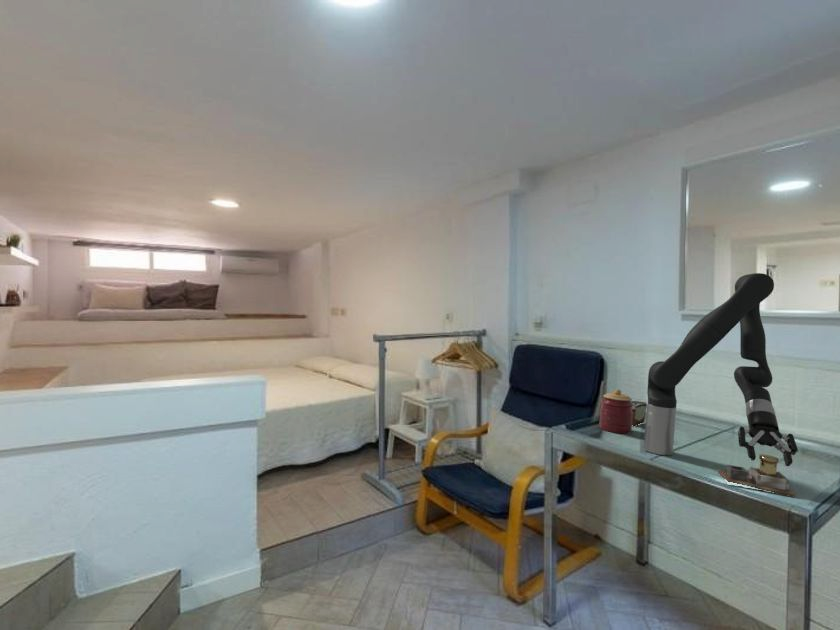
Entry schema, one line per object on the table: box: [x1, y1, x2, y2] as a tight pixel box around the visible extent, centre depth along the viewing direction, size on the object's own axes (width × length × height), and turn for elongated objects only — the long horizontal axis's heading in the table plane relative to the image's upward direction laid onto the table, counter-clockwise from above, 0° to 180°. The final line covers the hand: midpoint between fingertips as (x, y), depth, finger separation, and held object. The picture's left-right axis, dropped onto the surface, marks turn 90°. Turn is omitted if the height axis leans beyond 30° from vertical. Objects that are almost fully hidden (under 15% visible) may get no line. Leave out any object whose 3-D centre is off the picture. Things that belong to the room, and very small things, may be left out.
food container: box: [631, 400, 648, 427], centre depth 200 cm, size 12×6×10 cm, turn 130°
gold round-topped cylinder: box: [758, 453, 780, 477], centre depth 132 cm, size 5×5×8 cm
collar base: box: [717, 464, 795, 497], centre depth 133 cm, size 16×12×4 cm
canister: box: [598, 388, 634, 435], centre depth 188 cm, size 13×13×18 cm
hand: (770, 462), depth 131 cm, fingers open, 8 cm apart
